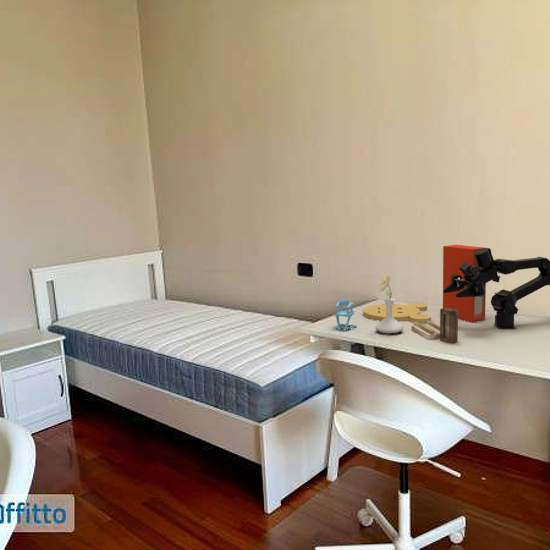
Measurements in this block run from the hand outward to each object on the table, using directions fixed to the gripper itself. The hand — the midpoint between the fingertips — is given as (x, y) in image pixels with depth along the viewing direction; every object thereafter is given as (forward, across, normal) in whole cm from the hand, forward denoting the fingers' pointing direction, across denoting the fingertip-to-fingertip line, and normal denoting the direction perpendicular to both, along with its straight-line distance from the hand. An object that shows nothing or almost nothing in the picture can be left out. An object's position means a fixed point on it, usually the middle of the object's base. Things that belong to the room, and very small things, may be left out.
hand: (449, 294), depth 211 cm
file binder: (-11, -19, +22) cm, 31 cm away
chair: (+41, -20, +1) cm, 45 cm away
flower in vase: (+27, -9, +7) cm, 29 cm away
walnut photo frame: (+12, +11, +12) cm, 20 cm away
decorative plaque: (+13, -35, +13) cm, 39 cm away
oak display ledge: (+13, -1, +12) cm, 18 cm away
